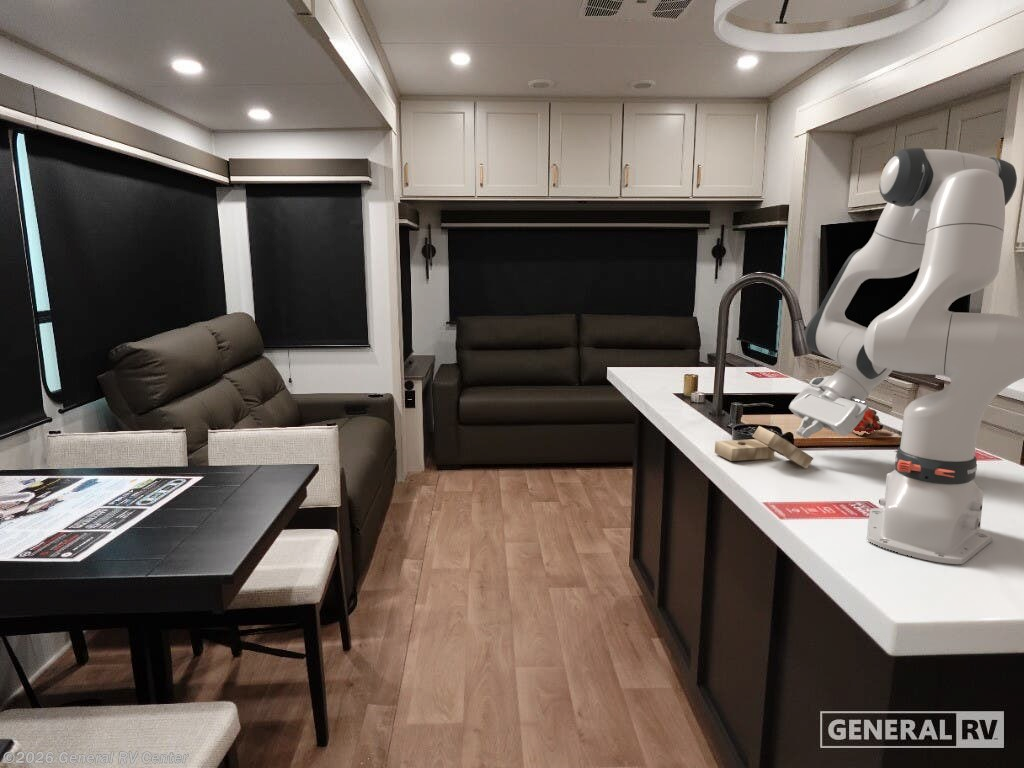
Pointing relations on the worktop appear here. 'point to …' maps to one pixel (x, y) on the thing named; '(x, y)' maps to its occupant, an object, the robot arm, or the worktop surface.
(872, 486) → the worktop surface
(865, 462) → the worktop surface
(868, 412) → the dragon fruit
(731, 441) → the tile one
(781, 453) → the tile two
